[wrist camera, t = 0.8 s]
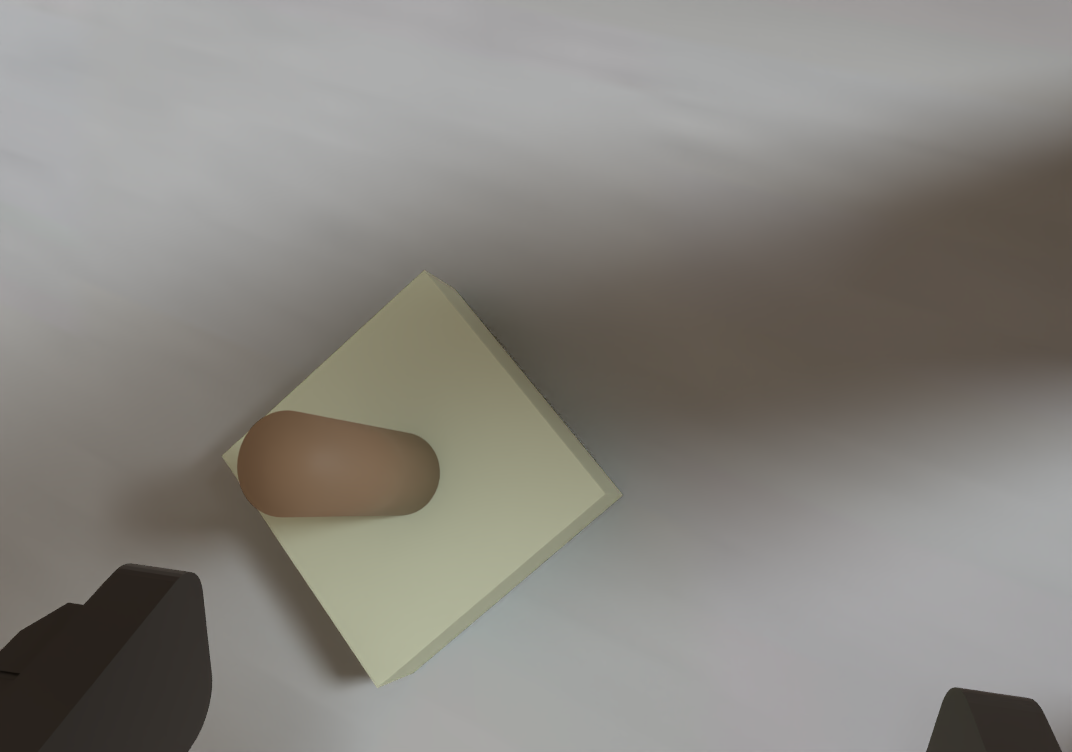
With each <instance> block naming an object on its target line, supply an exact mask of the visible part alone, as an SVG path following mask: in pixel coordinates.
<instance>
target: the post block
mask: <svg viewBox="0 0 1072 752" xmlns="http://www.w3.org/2000/svg"><path fill="white" fill-rule="evenodd" d="M222 457H223V459H224V460H225V462H226V463H227V465H228V466H229V468H230V469H231V471H232V472H233V474H234V475H235V477H236V478H237V480H238V481H239V483H240V486H241V489H242V491H243V493H244V495H245V497H246V498H247V499H248V501H249V502H250V503H251V504H252V505H253V506H254V507H255V508H256V509H257V510H258V511H259V513H260V514H261V516H262V517H263V519H264V520H265V521H266V523H267V524H268V526H269V527H270V529H271V530H272V532H273V533H274V535H275V536H276V538H277V539H278V541H279V542H280V544H281V545H282V547H283V548H284V550H285V551H286V553H287V554H288V556H289V557H290V559H291V560H292V562H293V563H294V565H295V566H296V568H297V569H298V571H299V572H300V574H301V575H302V577H303V578H304V580H305V581H306V583H307V584H308V586H309V587H310V589H311V590H312V592H313V593H314V594H315V596H316V597H317V599H318V600H319V602H320V603H321V605H322V606H323V608H324V609H325V611H326V612H327V614H328V615H329V617H330V618H331V620H332V621H333V623H334V624H335V626H336V627H337V629H338V630H339V632H340V633H341V635H342V636H343V638H344V639H345V641H346V642H347V644H348V645H349V647H350V648H351V650H352V651H353V653H354V654H355V656H356V657H357V659H358V660H359V662H360V663H361V665H362V666H363V667H364V669H365V670H366V672H367V673H368V675H369V676H370V678H371V679H372V681H373V682H374V684H375V685H376V687H377V688H379V687H381V686H383V685H386V684H388V683H391V682H393V681H395V680H398V679H400V678H403V677H405V676H407V675H410V674H412V673H414V672H415V671H416V670H418V669H419V668H420V667H421V666H422V665H423V664H425V663H426V662H427V661H428V660H429V659H431V658H432V657H433V656H434V655H435V654H436V653H438V652H439V651H440V650H441V649H442V648H443V647H445V646H446V645H447V644H448V643H449V642H451V641H452V640H453V639H454V638H455V637H456V636H458V635H459V634H460V633H461V632H462V631H464V630H465V629H466V628H467V627H468V626H469V625H471V624H472V623H473V622H474V621H475V620H476V619H478V618H479V617H480V616H481V615H482V614H484V613H485V612H486V611H487V610H488V609H489V608H491V607H492V606H493V605H494V604H495V603H497V602H498V601H499V600H500V599H501V598H502V597H504V596H505V595H506V594H507V593H508V592H510V591H511V590H512V589H513V588H514V587H515V586H517V585H518V584H519V583H520V582H521V581H522V580H524V579H525V578H526V577H527V576H528V575H530V574H531V573H532V572H533V571H534V570H535V569H537V568H538V567H539V566H540V565H541V564H543V563H544V562H545V561H546V560H547V559H548V558H550V557H551V556H552V555H553V554H554V553H555V552H557V551H558V550H559V549H560V548H561V547H563V546H564V545H565V544H566V543H567V542H568V541H570V540H571V539H572V538H573V537H574V536H576V535H577V534H578V533H579V532H580V531H581V530H583V529H584V528H585V527H586V526H587V525H588V524H590V523H591V522H592V521H593V520H594V519H596V518H597V517H598V516H599V515H600V514H601V513H603V512H604V511H605V510H606V509H607V508H609V507H610V506H611V505H612V504H613V503H614V502H616V501H617V500H618V499H619V498H620V497H622V496H623V494H622V493H621V492H620V491H619V490H618V488H617V487H616V486H615V485H614V483H613V482H612V481H611V480H610V479H609V477H608V476H607V475H606V474H605V472H604V471H603V470H602V469H601V468H600V466H599V465H598V464H597V463H596V461H595V460H594V459H593V458H592V457H591V455H590V454H589V453H588V452H587V450H586V449H585V448H584V447H583V445H582V444H581V443H580V442H579V441H578V439H577V438H576V437H575V436H574V434H573V433H572V432H571V431H570V430H569V428H568V427H567V426H566V425H565V423H564V422H563V421H562V420H561V419H560V417H559V416H558V415H557V414H556V412H555V411H554V410H553V409H552V407H551V406H550V405H549V404H548V403H547V401H546V400H545V399H544V398H543V396H542V395H541V394H540V393H539V392H538V390H537V389H536V388H535V387H534V385H533V384H532V383H531V382H530V381H529V379H528V378H527V377H526V376H525V374H524V373H523V372H522V371H521V370H520V368H519V367H518V366H517V365H516V363H515V362H514V361H513V360H512V358H511V357H510V356H509V355H508V354H507V352H506V351H505V350H504V349H503V347H502V346H501V345H500V344H499V343H498V341H497V340H496V339H495V338H494V336H493V335H492V334H491V333H490V332H489V330H488V329H487V328H486V327H485V325H484V324H483V323H482V322H481V321H480V319H479V318H478V317H477V316H476V314H475V313H474V312H473V311H472V309H471V308H470V307H469V306H468V305H467V303H466V302H465V301H464V300H463V298H462V297H461V296H460V295H459V294H458V292H457V291H456V290H455V289H454V288H452V287H451V286H449V285H447V284H446V283H444V282H443V281H441V280H439V279H438V278H436V277H435V276H433V275H431V274H430V273H428V272H427V271H425V270H424V271H423V272H422V273H420V274H419V275H418V276H417V277H416V278H415V279H414V280H413V281H412V282H411V283H410V284H408V285H407V286H406V287H405V288H404V289H403V290H402V291H401V292H400V293H399V294H398V295H396V296H395V297H394V298H393V299H392V300H391V301H390V302H389V303H388V304H387V305H386V306H384V307H383V308H382V309H381V310H380V311H379V312H378V313H377V314H376V315H375V316H374V317H373V318H371V319H370V320H369V321H368V322H367V323H366V324H365V325H364V326H363V327H362V328H361V329H359V330H358V331H357V332H356V333H355V334H354V335H353V336H352V337H351V338H350V339H349V340H347V341H346V342H345V343H344V344H343V345H342V346H341V347H340V348H339V349H338V350H337V351H335V352H334V353H333V354H332V355H331V356H330V357H329V358H328V359H327V360H326V361H325V362H323V363H322V364H321V365H320V366H319V367H318V368H317V369H316V370H315V371H314V372H313V373H311V374H310V375H309V376H308V377H307V378H306V379H305V380H304V381H303V382H302V383H301V384H300V385H298V386H297V387H296V388H295V389H294V390H293V391H292V392H291V393H290V394H289V395H288V396H286V397H285V398H284V399H283V400H282V401H281V402H280V403H279V404H278V405H277V406H276V407H274V408H273V409H272V410H271V411H270V412H269V413H268V414H267V415H266V416H265V417H263V418H262V419H260V420H259V421H258V422H257V423H255V424H254V426H253V427H252V428H251V429H250V430H249V431H248V432H247V433H246V434H245V435H244V436H243V437H242V438H241V439H240V440H239V441H237V442H236V443H235V444H234V445H233V446H232V447H231V448H230V449H229V450H228V451H227V452H225V453H224V454H223V455H222Z"/></svg>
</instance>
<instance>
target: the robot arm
mask: <svg viewBox="0 0 1072 752" xmlns="http://www.w3.org/2000/svg"><path fill="white" fill-rule="evenodd" d="M211 691H212V672H211V663H210V654H209V645H208V636H207V626H206V617H205V608H204V599H203V590H202V585H201V582H200V579H199V578H198V576H197V575H196V574H195V573H192V572H186V571H179V570H172V569H165V568H159V567H152V566H145V565H138V564H125V565H122V566H121V567H119V568H118V569H117V570H116V571H115V572H114V573H113V574H112V575H111V576H110V577H109V578H108V579H107V580H106V581H105V582H104V583H103V584H102V586H101V587H100V588H99V589H98V590H97V591H96V592H95V593H94V594H93V595H92V596H91V597H90V599H89V600H88V601H87V602H86V603H85V604H84V605H80V604H74V603H67V604H65V605H64V606H62V607H60V608H59V609H57V610H55V611H53V612H52V613H50V614H48V615H47V616H45V617H43V618H42V619H40V620H38V621H36V622H35V623H33V624H31V625H30V626H28V627H26V628H25V629H23V630H21V631H20V632H19V633H18V634H17V635H16V636H15V637H14V638H13V639H12V640H11V641H10V642H9V643H8V644H7V645H6V646H5V647H4V648H3V649H2V650H1V651H0V752H188V751H189V749H190V748H191V746H192V745H193V743H194V741H195V740H196V738H197V736H198V734H199V732H200V730H201V728H202V726H203V723H204V721H205V718H206V715H207V712H208V708H209V704H210V698H211ZM926 752H1062V751H1061V749H1060V747H1059V744H1058V742H1057V740H1056V738H1055V736H1054V734H1053V732H1052V730H1051V727H1050V725H1049V723H1048V721H1047V719H1046V717H1045V715H1044V713H1043V711H1042V709H1041V707H1040V706H1039V705H1038V703H1037V702H1035V701H1034V700H1033V699H1030V698H1024V697H1017V696H1011V695H1004V694H997V693H990V692H984V691H977V690H970V689H963V688H956V687H955V688H952V689H950V690H949V691H948V692H947V694H946V695H945V697H944V700H943V702H942V705H941V708H940V711H939V714H938V717H937V720H936V723H935V726H934V730H933V733H932V736H931V739H930V742H929V745H928V748H927V751H926Z"/></svg>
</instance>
